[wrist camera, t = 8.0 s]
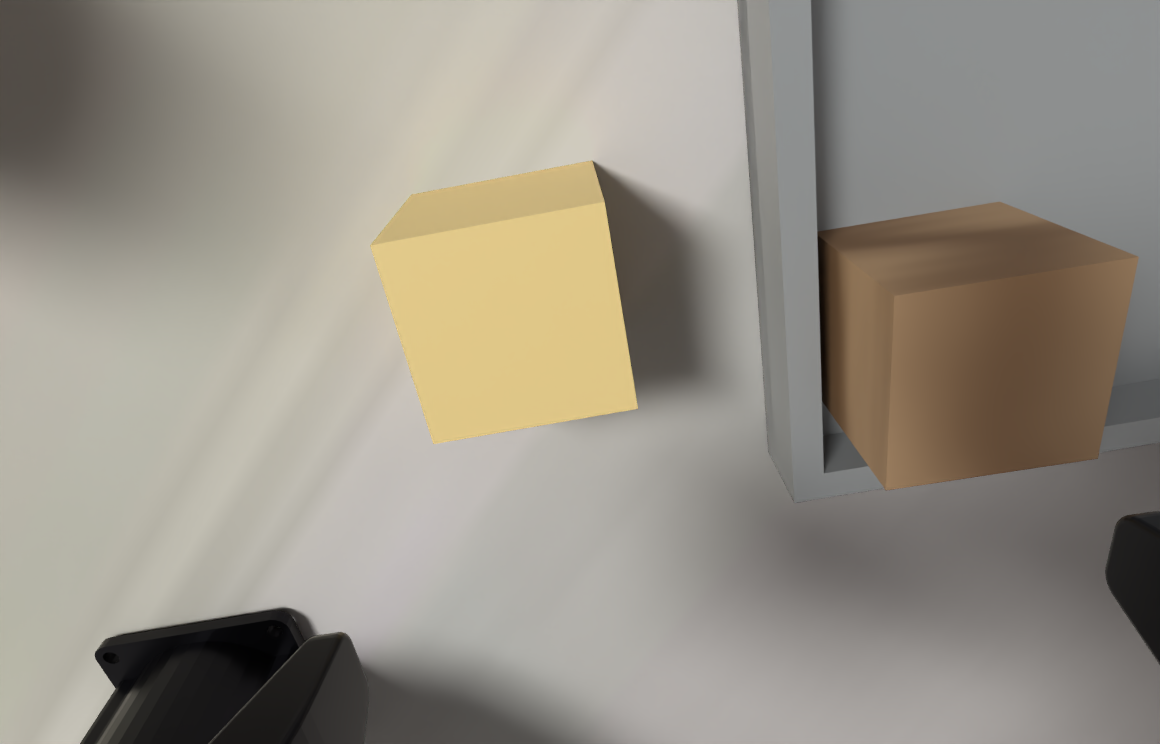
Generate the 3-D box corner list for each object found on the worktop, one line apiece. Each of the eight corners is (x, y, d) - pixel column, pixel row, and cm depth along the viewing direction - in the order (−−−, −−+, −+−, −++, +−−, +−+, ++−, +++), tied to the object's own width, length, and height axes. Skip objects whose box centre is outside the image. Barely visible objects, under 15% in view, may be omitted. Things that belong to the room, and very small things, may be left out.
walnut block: (815, 392, 19) (885, 490, 15) (814, 232, 17) (894, 296, 13) (982, 366, 19) (1097, 458, 15) (999, 201, 17) (1139, 257, 13)
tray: (768, 451, 21) (794, 503, 19) (722, -222, 14) (754, -269, 12) (1251, 370, 20) (1338, 413, 18) (1461, -380, 13) (1647, -461, 11)
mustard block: (458, 356, 19) (433, 443, 15) (412, 193, 17) (370, 245, 13) (619, 327, 19) (638, 408, 15) (591, 160, 17) (604, 202, 13)
